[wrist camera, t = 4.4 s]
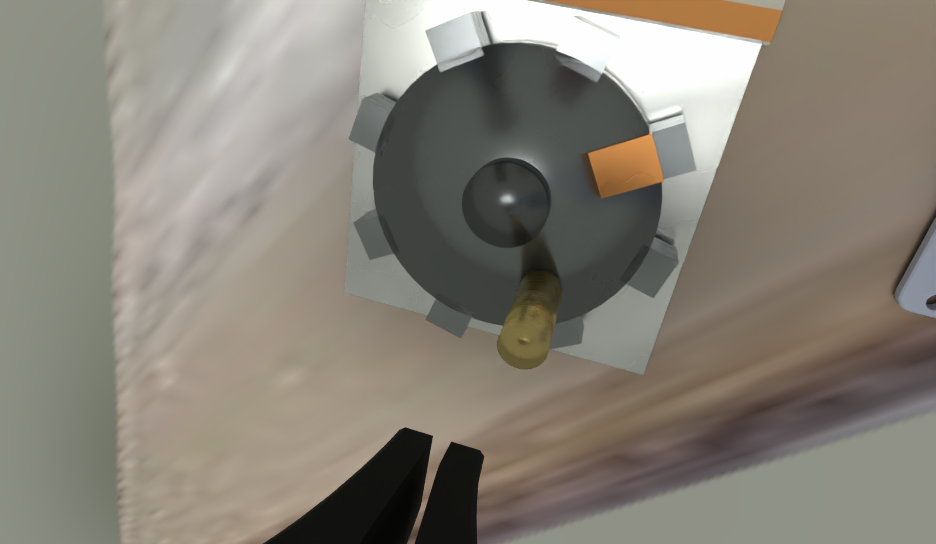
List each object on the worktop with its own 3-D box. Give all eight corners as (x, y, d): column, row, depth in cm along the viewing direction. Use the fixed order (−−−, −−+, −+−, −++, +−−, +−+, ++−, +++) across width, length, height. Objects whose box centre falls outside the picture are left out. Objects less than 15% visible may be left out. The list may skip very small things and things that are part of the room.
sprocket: (640, -57, 16) (641, -74, 12) (726, 297, 19) (751, 382, 15) (310, 81, 20) (223, 105, 16) (429, 356, 23) (383, 437, 19)
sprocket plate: (763, 32, 17) (765, 33, 16) (643, 368, 22) (643, 375, 22) (373, -40, 19) (368, -40, 18) (348, 288, 24) (343, 292, 24)
